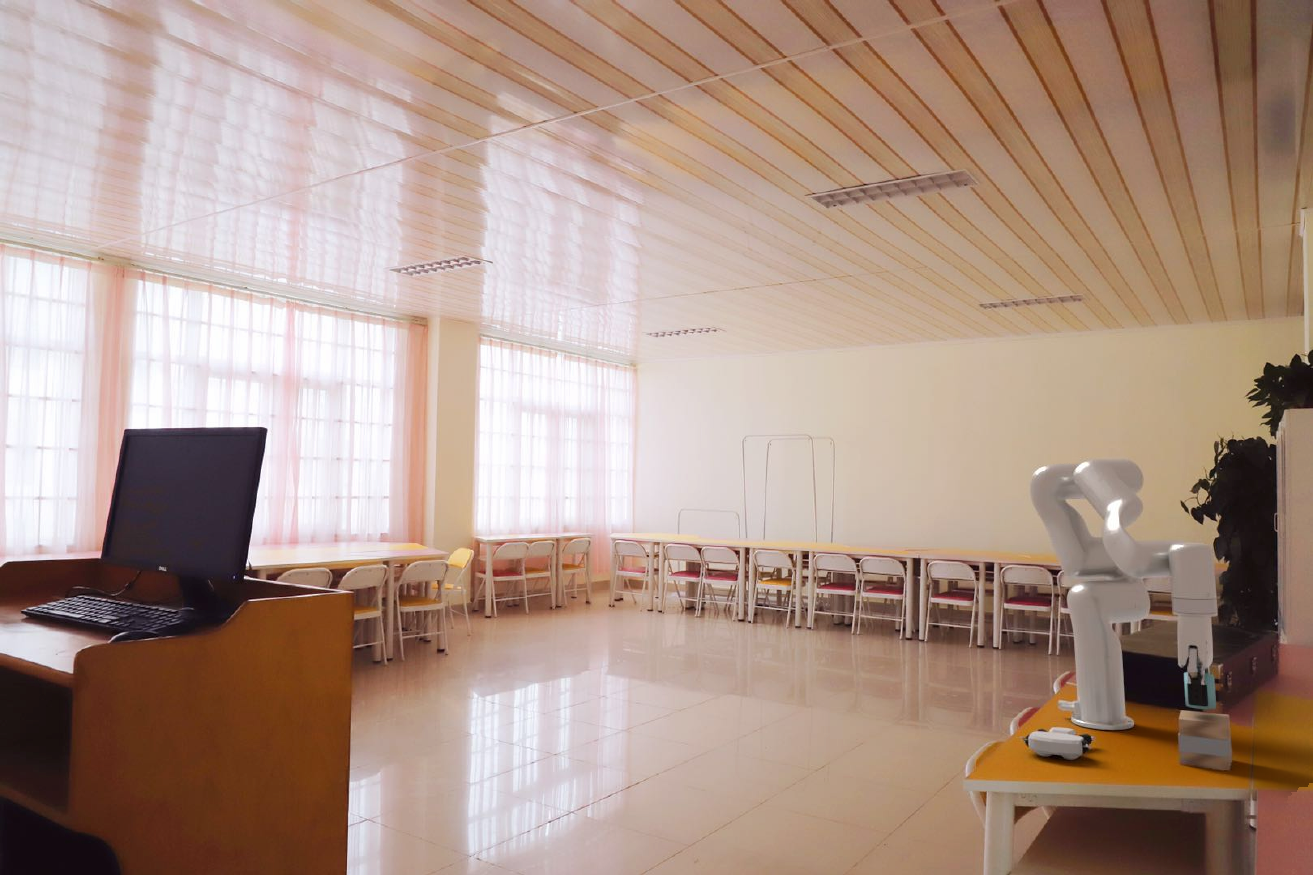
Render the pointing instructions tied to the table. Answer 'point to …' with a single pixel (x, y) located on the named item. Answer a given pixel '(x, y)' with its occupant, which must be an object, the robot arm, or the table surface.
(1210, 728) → the slab top
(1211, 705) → the teal open box
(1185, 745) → the slab middle
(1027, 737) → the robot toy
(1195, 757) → the slab bottom
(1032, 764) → the table surface
